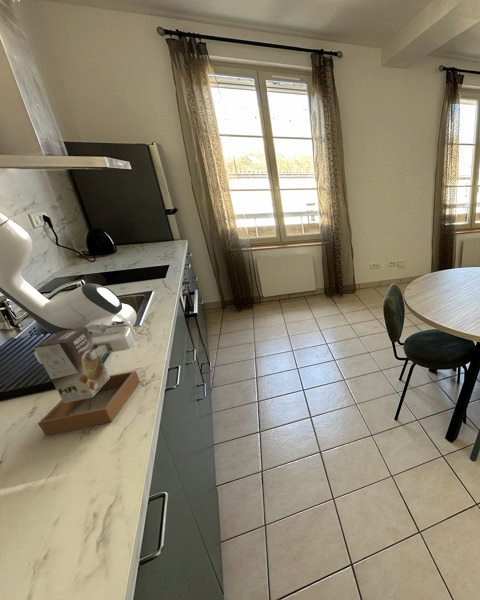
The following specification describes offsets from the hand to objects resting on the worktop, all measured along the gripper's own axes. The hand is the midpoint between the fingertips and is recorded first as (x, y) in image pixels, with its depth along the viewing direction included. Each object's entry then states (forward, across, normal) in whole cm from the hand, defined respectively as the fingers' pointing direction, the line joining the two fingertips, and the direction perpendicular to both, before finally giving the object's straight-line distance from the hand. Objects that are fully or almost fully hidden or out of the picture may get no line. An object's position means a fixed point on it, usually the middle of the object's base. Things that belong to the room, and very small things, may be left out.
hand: (70, 360), depth 82 cm
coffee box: (-1, 0, +10) cm, 10 cm away
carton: (-1, 0, +15) cm, 15 cm away
